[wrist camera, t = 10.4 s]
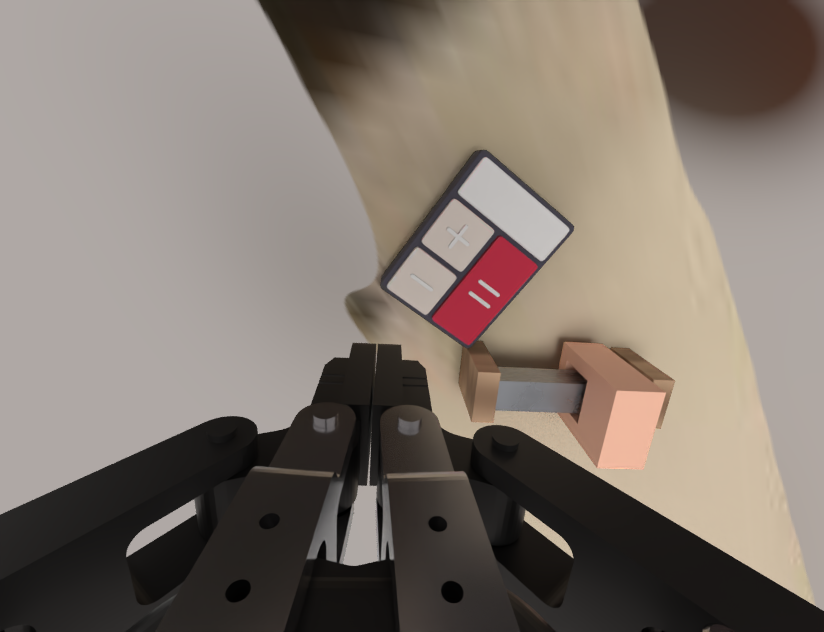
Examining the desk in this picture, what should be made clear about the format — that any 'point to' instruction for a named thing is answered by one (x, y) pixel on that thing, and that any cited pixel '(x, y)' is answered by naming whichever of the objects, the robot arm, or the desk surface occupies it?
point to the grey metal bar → (540, 390)
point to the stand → (484, 375)
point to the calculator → (475, 250)
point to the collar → (612, 407)
